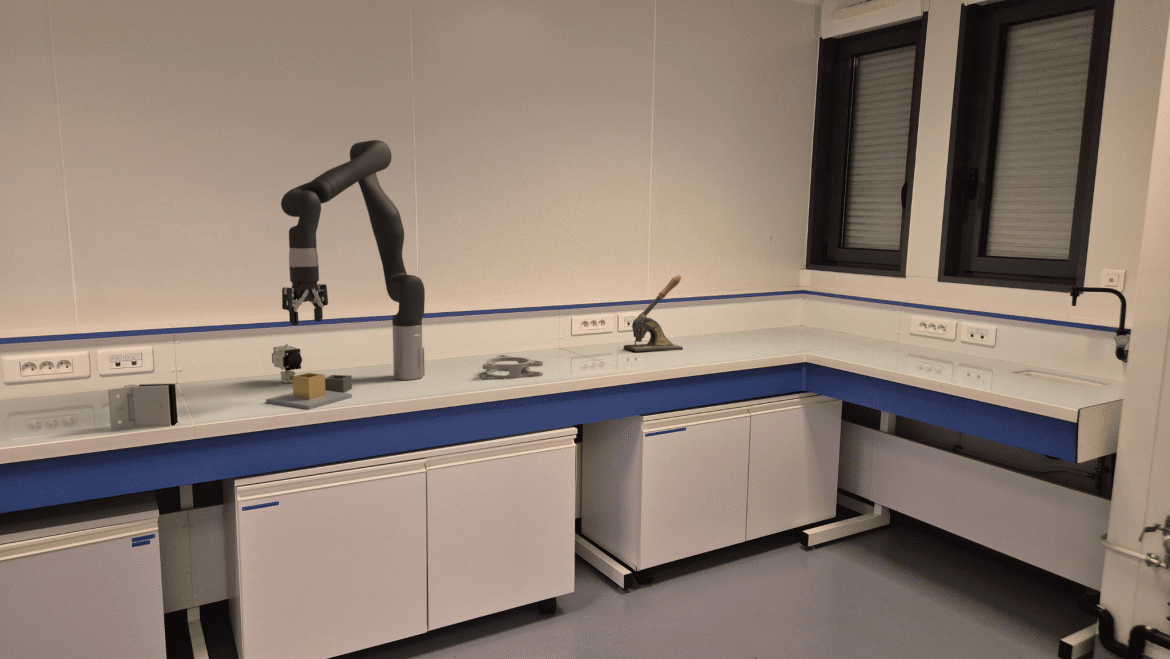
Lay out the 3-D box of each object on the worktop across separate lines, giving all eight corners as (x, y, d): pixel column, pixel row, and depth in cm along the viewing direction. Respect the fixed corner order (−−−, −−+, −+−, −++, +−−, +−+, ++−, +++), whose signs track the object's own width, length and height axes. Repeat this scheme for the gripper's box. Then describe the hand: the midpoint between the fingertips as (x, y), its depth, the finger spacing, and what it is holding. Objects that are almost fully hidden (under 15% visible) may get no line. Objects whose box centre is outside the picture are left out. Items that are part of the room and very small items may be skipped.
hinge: (110, 431, 178) (107, 390, 177) (114, 426, 183) (111, 385, 182) (176, 425, 184) (174, 385, 183) (179, 420, 189) (176, 381, 187)
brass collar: (309, 393, 215) (308, 372, 215) (325, 395, 213) (324, 374, 212) (293, 397, 210) (292, 376, 209) (309, 399, 208) (308, 378, 207)
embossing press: (622, 349, 305) (623, 274, 300) (673, 345, 314) (675, 273, 310) (634, 353, 295) (635, 276, 290) (686, 350, 304) (688, 275, 300)
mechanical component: (484, 381, 241) (484, 366, 240) (472, 370, 258) (472, 356, 258) (545, 377, 248) (545, 362, 247) (529, 367, 265) (529, 353, 265)
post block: (310, 391, 222) (309, 371, 221) (351, 397, 215) (351, 376, 214) (266, 402, 208) (265, 381, 207) (309, 409, 201) (308, 387, 200)
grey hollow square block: (332, 387, 227) (332, 374, 227) (351, 388, 227) (351, 375, 226) (323, 392, 221) (323, 378, 221) (343, 392, 221) (343, 379, 220)
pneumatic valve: (287, 378, 240) (286, 341, 239) (303, 384, 232) (302, 345, 231) (270, 380, 237) (268, 343, 235) (286, 386, 228) (284, 347, 227)
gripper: (313, 263, 214) (315, 319, 217) (273, 265, 202) (276, 325, 204) (333, 263, 211) (335, 321, 213) (293, 266, 198) (296, 327, 201)
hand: (306, 323), depth 209 cm, fingers open, 8 cm apart
